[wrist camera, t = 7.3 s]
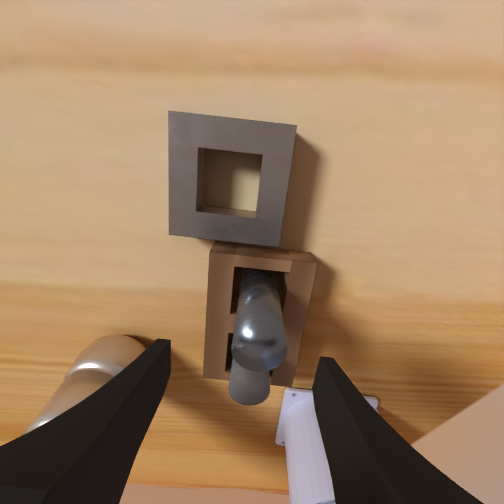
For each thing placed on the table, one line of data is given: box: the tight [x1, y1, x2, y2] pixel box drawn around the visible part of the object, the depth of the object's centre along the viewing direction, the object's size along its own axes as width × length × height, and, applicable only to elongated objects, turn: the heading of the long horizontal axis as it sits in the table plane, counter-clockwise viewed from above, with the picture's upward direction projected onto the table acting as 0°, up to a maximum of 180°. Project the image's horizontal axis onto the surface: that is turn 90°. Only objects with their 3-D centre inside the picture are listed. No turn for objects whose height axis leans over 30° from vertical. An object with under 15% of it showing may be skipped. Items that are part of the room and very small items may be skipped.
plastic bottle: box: [23, 335, 147, 435], centre depth 16 cm, size 6×7×20 cm
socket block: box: [168, 111, 297, 247], centre depth 18 cm, size 8×8×2 cm
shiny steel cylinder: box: [231, 268, 287, 372], centre depth 18 cm, size 3×3×9 cm
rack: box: [203, 242, 317, 405], centre depth 21 cm, size 8×12×6 cm, turn 174°
